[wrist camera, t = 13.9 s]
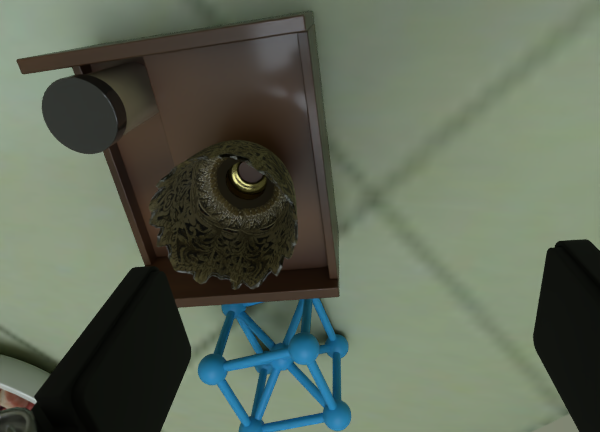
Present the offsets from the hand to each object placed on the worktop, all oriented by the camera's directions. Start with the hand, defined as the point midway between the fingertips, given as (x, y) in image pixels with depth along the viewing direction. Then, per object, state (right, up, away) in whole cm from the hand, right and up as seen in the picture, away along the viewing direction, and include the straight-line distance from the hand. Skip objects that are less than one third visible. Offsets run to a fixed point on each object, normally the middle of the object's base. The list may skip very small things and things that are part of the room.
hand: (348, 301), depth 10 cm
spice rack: (-7, +8, +23) cm, 25 cm away
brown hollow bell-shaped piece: (-4, +5, +17) cm, 18 cm away
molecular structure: (-2, -8, +31) cm, 32 cm away
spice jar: (-13, +11, +19) cm, 25 cm away
